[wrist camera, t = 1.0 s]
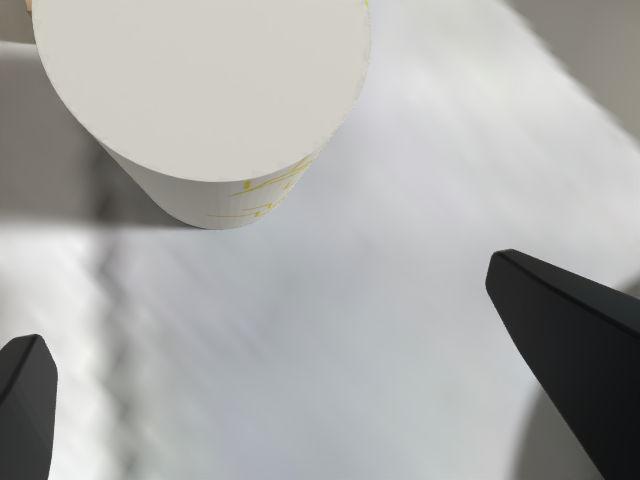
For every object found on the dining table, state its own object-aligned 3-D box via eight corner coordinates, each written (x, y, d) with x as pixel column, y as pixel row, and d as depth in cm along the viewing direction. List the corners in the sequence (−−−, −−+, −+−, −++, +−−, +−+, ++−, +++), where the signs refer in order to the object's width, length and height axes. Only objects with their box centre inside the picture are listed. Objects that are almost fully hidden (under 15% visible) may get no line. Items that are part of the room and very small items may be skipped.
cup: (249, 259, 23) (276, 243, 12) (97, 174, 22) (-45, 61, 10) (327, 123, 25) (421, -16, 13) (187, 37, 23) (151, -202, 12)
